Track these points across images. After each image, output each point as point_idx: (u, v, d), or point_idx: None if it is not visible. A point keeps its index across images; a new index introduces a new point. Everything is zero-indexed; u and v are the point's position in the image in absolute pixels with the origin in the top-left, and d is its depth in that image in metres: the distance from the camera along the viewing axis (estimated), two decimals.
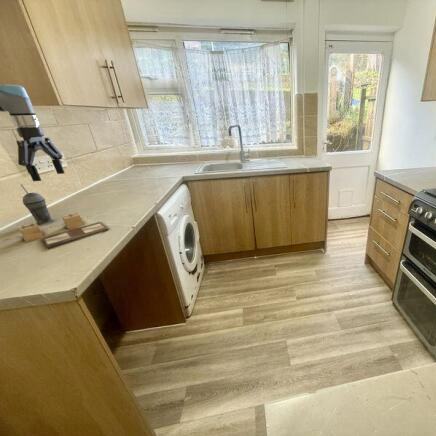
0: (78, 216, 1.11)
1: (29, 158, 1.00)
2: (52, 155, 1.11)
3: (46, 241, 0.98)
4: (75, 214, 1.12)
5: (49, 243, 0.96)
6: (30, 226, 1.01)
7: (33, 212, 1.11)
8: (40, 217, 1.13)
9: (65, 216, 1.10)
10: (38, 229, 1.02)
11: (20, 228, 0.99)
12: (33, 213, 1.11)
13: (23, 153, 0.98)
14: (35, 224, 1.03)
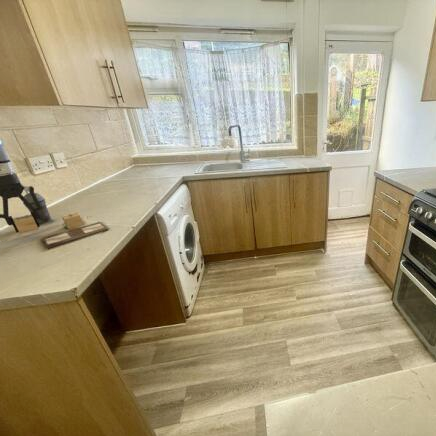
0: (78, 216, 1.11)
1: (3, 210, 0.95)
2: None
3: (46, 241, 0.98)
4: (75, 214, 1.12)
5: (49, 243, 0.96)
6: (25, 217, 0.99)
7: None
8: (40, 217, 1.13)
9: (65, 216, 1.10)
10: (33, 221, 1.01)
11: (14, 219, 0.98)
12: None
13: None
14: (30, 216, 1.01)
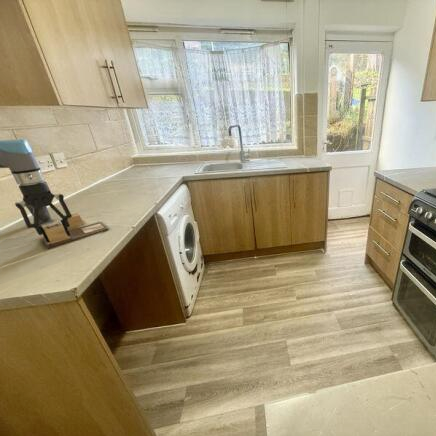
0: (78, 216, 1.11)
1: (34, 220, 0.93)
2: (58, 214, 0.98)
3: (46, 241, 0.98)
4: (75, 214, 1.12)
5: (49, 243, 0.96)
6: (55, 226, 0.97)
7: None
8: (40, 217, 1.13)
9: None
10: (63, 229, 0.98)
11: (45, 228, 0.96)
12: None
13: None
14: (59, 224, 0.99)
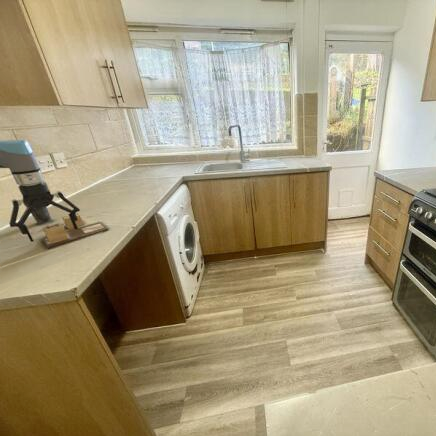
0: (78, 216, 1.11)
1: (21, 218, 0.90)
2: (65, 210, 0.99)
3: (46, 241, 0.98)
4: None
5: (49, 243, 0.96)
6: (55, 226, 0.97)
7: (33, 212, 1.11)
8: (40, 217, 1.13)
9: (65, 216, 1.10)
10: (63, 229, 0.98)
11: (45, 228, 0.96)
12: (33, 213, 1.11)
13: (12, 214, 0.88)
14: (59, 224, 0.99)
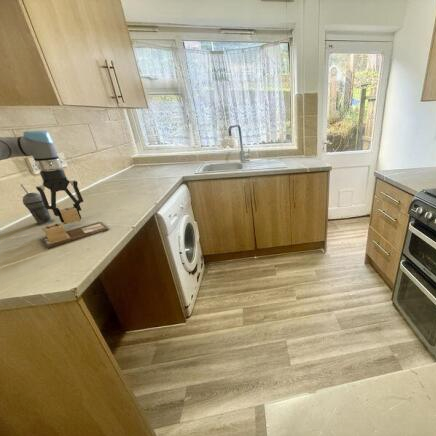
0: (75, 210, 1.10)
1: (51, 202, 1.05)
2: None
3: (46, 241, 0.98)
4: (72, 208, 1.11)
5: (49, 243, 0.96)
6: (55, 226, 0.97)
7: (33, 212, 1.11)
8: (40, 217, 1.13)
9: (61, 210, 1.09)
10: (63, 229, 0.98)
11: (45, 228, 0.96)
12: (33, 213, 1.11)
13: (42, 199, 1.02)
14: (59, 224, 0.99)
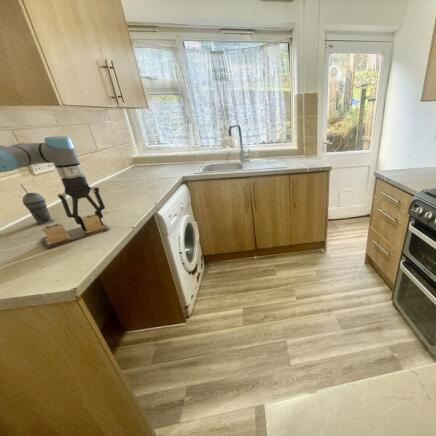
0: (97, 217, 1.06)
1: (73, 210, 1.01)
2: (93, 206, 1.06)
3: (46, 241, 0.98)
4: (93, 215, 1.07)
5: (49, 243, 0.96)
6: (55, 226, 0.97)
7: (33, 212, 1.11)
8: (40, 217, 1.13)
9: (83, 217, 1.05)
10: (63, 229, 0.98)
11: (45, 228, 0.96)
12: (33, 213, 1.11)
13: (64, 207, 0.99)
14: (59, 224, 0.99)
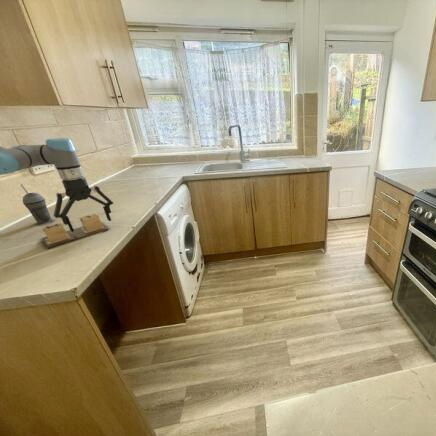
0: (97, 217, 1.06)
1: (64, 210, 0.99)
2: None
3: (46, 241, 0.98)
4: (93, 215, 1.07)
5: (49, 243, 0.96)
6: (55, 226, 0.97)
7: (33, 212, 1.11)
8: (40, 217, 1.13)
9: (83, 217, 1.05)
10: (63, 229, 0.98)
11: (45, 228, 0.96)
12: (33, 213, 1.11)
13: (56, 206, 0.97)
14: (59, 224, 0.99)
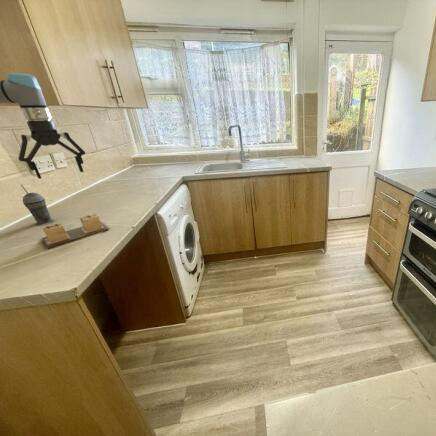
0: (97, 217, 1.06)
1: (29, 154, 0.93)
2: (71, 151, 1.02)
3: (46, 241, 0.98)
4: (93, 215, 1.07)
5: (49, 243, 0.96)
6: (55, 226, 0.97)
7: (33, 212, 1.11)
8: (40, 217, 1.13)
9: (83, 217, 1.05)
10: (63, 229, 0.98)
11: (45, 228, 0.96)
12: (33, 213, 1.11)
13: (21, 148, 0.91)
14: (59, 224, 0.99)
